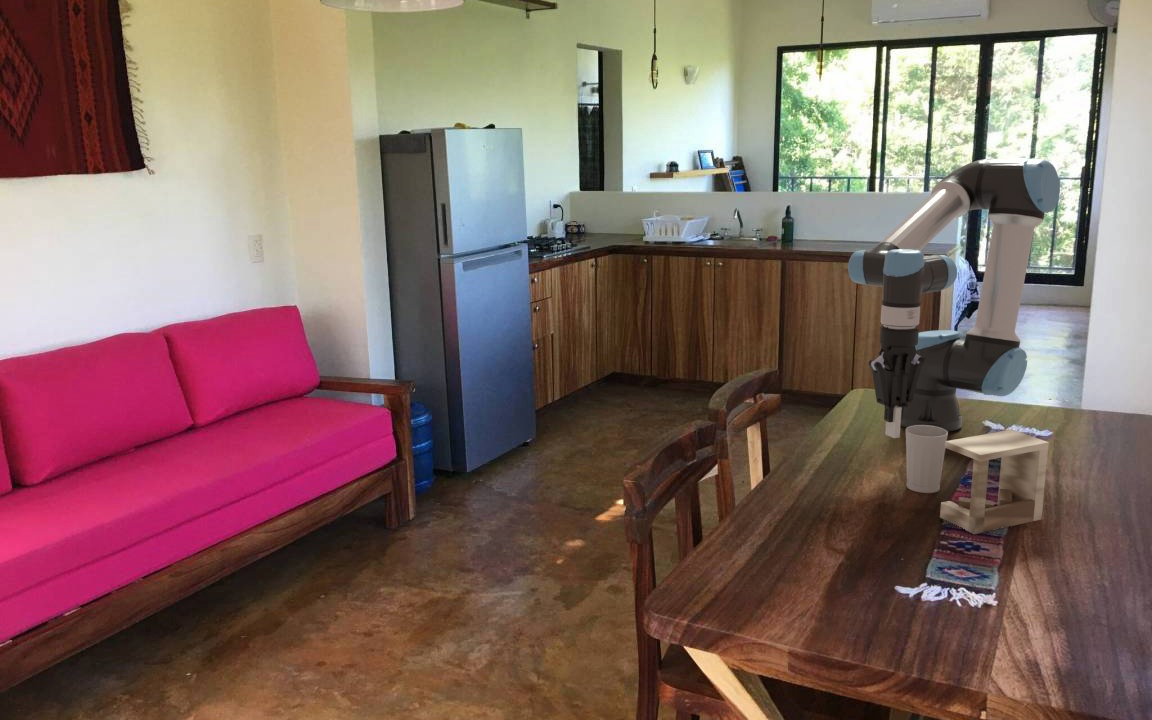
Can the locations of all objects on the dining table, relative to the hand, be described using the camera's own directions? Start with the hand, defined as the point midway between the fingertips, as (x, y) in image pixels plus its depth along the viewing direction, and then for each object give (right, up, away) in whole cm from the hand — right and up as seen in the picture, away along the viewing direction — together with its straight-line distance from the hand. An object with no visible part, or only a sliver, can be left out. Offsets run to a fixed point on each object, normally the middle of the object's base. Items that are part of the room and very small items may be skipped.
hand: (892, 435), depth 196 cm
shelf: (+11, -14, -23) cm, 28 cm away
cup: (+4, -10, -6) cm, 13 cm away
